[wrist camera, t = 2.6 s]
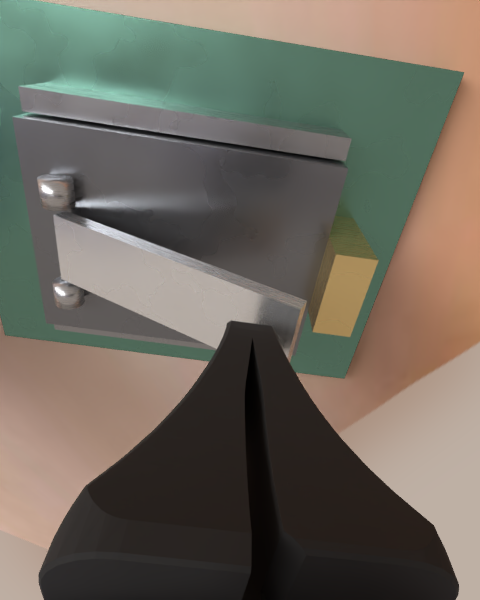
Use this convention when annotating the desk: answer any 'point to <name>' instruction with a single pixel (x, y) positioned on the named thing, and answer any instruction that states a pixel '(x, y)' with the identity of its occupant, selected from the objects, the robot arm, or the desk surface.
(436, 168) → the desk surface
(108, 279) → the grey flat bar
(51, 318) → the circuit board
